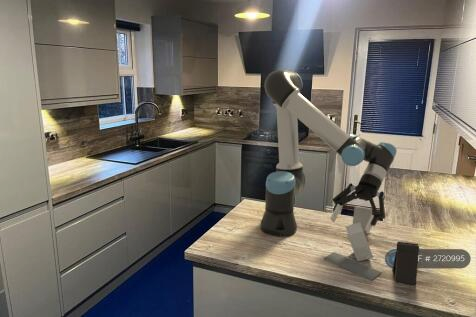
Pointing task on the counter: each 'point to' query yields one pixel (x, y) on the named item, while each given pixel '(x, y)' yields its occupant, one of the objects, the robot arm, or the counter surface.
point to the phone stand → (406, 263)
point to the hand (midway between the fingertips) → (348, 226)
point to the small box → (359, 242)
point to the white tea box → (362, 216)
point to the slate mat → (353, 266)
